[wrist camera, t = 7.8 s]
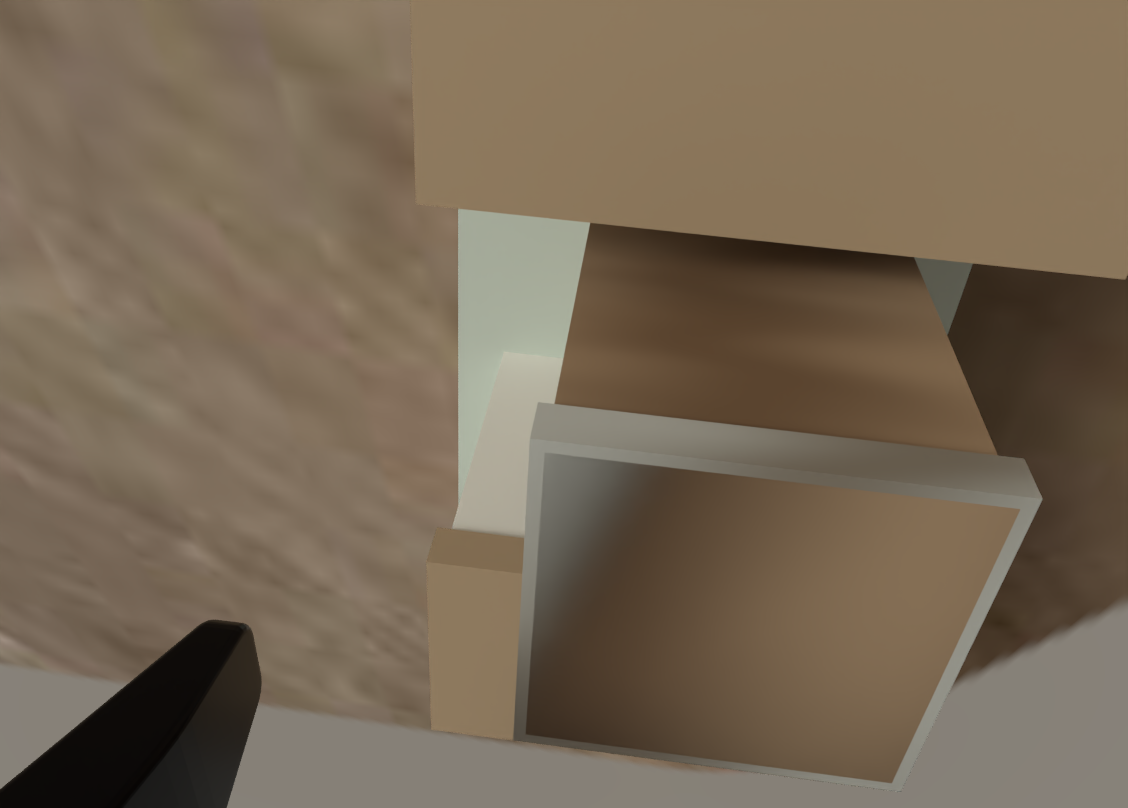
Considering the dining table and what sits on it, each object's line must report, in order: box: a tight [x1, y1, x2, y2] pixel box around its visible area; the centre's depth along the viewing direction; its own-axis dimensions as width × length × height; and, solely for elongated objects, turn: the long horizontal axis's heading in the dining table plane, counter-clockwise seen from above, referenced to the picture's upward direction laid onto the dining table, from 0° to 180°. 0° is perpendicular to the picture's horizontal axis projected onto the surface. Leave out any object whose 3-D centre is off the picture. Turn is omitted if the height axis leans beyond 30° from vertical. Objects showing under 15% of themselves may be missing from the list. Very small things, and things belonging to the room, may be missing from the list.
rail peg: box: [513, 223, 1043, 792], centre depth 14 cm, size 5×5×10 cm
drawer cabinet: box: [410, 0, 1128, 790], centre depth 16 cm, size 10×18×8 cm, turn 176°
